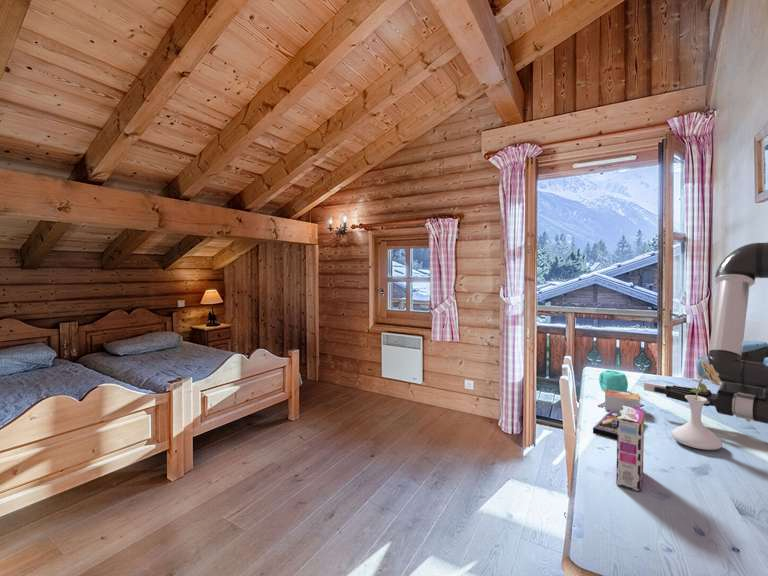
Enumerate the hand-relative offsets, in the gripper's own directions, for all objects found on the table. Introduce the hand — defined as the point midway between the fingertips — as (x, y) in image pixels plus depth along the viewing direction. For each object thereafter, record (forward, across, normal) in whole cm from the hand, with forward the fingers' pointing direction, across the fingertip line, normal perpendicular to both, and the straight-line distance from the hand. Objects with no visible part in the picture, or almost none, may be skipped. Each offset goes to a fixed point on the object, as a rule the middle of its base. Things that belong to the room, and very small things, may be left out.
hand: (644, 385), depth 128 cm
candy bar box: (-14, -51, -10) cm, 54 cm away
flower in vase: (-18, -16, -10) cm, 26 cm away
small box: (+1, -2, -6) cm, 7 cm away
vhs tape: (0, -22, -10) cm, 24 cm away
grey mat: (+8, 0, -10) cm, 12 cm away
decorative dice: (+17, +16, -10) cm, 25 cm away
